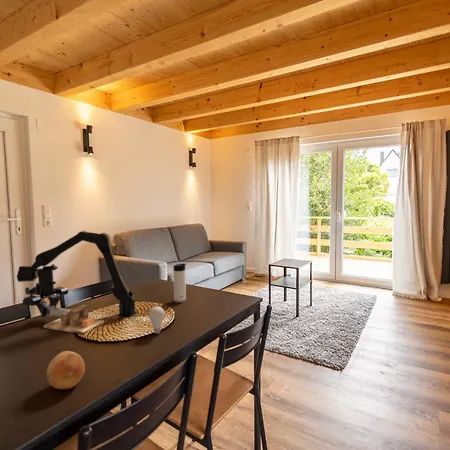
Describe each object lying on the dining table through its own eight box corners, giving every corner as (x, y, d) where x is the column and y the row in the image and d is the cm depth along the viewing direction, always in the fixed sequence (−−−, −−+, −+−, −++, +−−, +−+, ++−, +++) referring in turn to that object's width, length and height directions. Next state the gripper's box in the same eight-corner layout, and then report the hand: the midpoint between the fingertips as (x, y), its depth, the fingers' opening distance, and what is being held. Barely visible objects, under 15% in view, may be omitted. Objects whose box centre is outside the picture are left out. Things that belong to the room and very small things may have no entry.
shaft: (82, 317, 134) (81, 307, 133) (74, 321, 130) (74, 310, 130) (51, 313, 139) (50, 303, 139) (43, 316, 136) (42, 306, 135)
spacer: (90, 322, 133) (94, 323, 132) (82, 326, 129) (87, 327, 128) (89, 317, 133) (94, 317, 132) (82, 320, 128) (87, 321, 128)
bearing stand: (104, 322, 135) (103, 305, 135) (83, 333, 124) (82, 314, 123) (66, 317, 142) (65, 300, 141) (43, 327, 131) (42, 309, 130)
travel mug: (184, 303, 161) (183, 265, 159) (172, 302, 162) (171, 264, 160) (188, 299, 167) (187, 262, 165) (176, 298, 168) (175, 262, 166)
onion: (38, 392, 85) (36, 358, 85) (68, 374, 95) (67, 342, 94) (65, 400, 82) (63, 364, 81) (93, 380, 91) (91, 347, 91)
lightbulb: (167, 331, 125) (167, 305, 124) (159, 337, 119) (159, 310, 119) (154, 329, 127) (153, 303, 126) (146, 335, 121) (145, 308, 121)
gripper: (50, 274, 148) (51, 306, 149) (12, 284, 130) (14, 320, 131) (68, 275, 144) (69, 308, 145) (31, 286, 126) (34, 323, 128)
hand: (47, 314), depth 137 cm, fingers closed on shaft, 4 cm apart
